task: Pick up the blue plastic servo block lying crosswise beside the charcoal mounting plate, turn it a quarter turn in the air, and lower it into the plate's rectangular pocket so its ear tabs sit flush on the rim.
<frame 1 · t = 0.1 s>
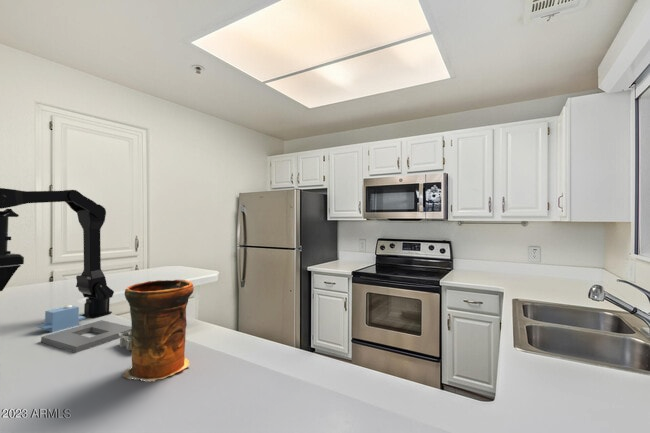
egg carton: (139, 347, 85), on the worktop
chassis: (90, 337, 90), on the worktop
servo: (61, 327, 97), on the worktop
vessel: (158, 369, 73), on the worktop
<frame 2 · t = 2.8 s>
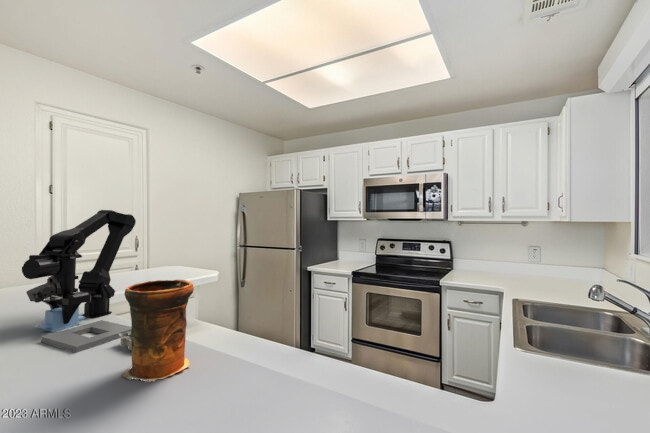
hand: (61, 322, 97), 2 cm above the worktop, fingers closed on servo, 4 cm apart
servo: (61, 327, 97), on the worktop, touching gripper
everything else where it was.
when the fingers open (2 cm above the worktop, at t = 6.9 s): servo stays where it is, resting in chassis.
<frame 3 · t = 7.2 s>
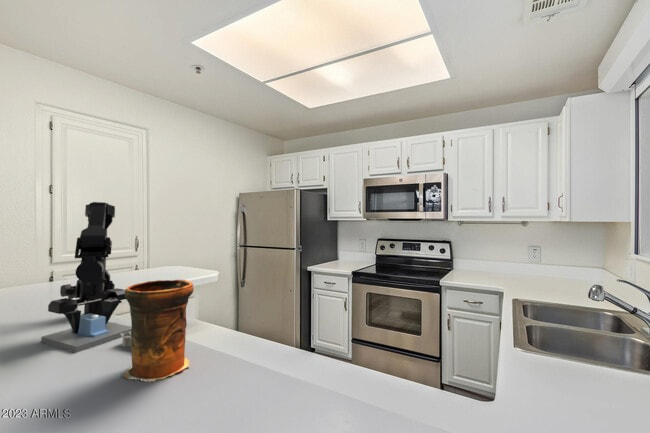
hand: (90, 329, 90), 2 cm above the worktop, fingers open, 7 cm apart
servo: (90, 337, 90), resting in chassis
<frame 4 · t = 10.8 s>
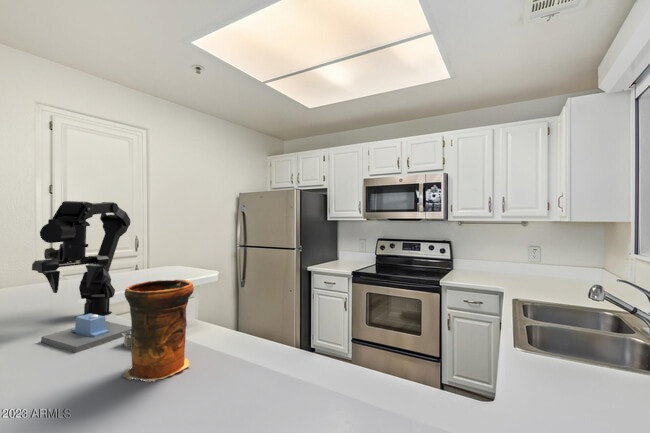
hand: (72, 290, 97), 12 cm above the worktop, fingers open, 9 cm apart
servo: (89, 337, 90), resting in chassis
at the end: servo 0.2 cm off-centre on the chassis, point 0.0 cm above the chassis's base; servo tilted 0°; the gripper is holding nothing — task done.
